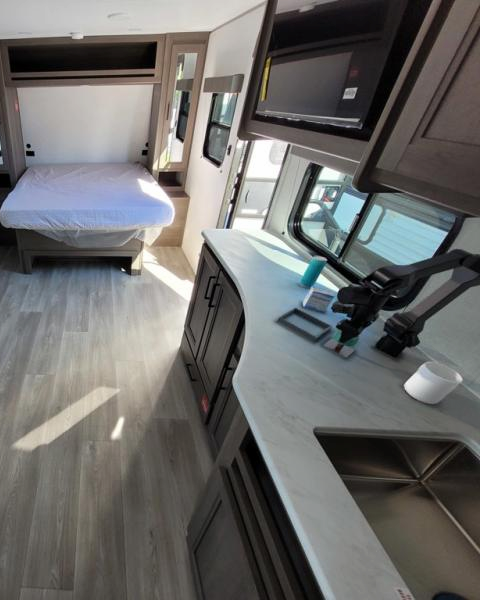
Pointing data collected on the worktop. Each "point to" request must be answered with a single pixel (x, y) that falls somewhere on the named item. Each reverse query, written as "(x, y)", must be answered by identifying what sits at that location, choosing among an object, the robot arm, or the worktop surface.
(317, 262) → the beverage can
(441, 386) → the mug
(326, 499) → the worktop surface
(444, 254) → the robot arm
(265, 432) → the worktop surface
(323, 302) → the medicine box
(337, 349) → the stand
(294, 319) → the worktop surface
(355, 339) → the ring
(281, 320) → the tray
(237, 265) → the worktop surface
